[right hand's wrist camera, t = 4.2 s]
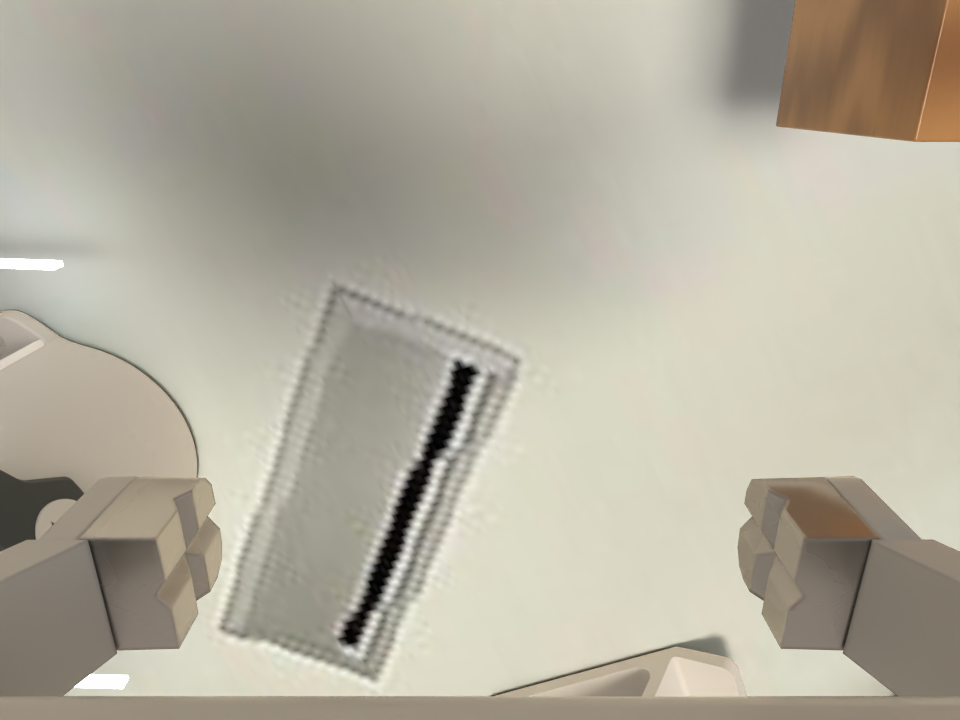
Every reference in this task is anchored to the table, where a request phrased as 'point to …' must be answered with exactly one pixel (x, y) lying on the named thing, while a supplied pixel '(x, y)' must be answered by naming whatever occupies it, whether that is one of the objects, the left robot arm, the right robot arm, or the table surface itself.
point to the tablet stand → (648, 678)
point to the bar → (874, 69)
